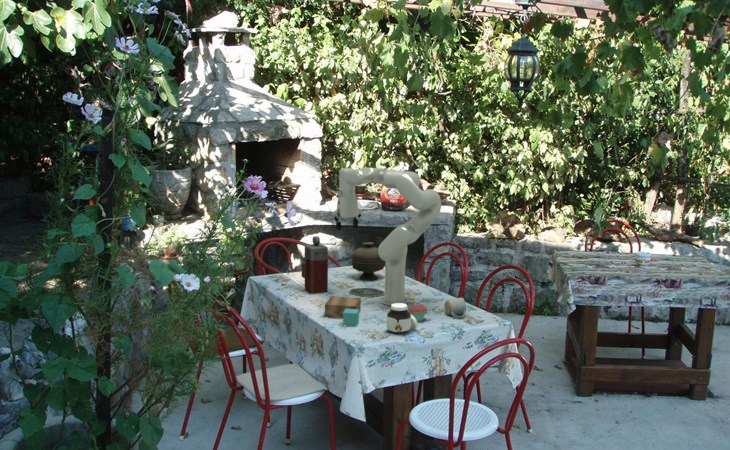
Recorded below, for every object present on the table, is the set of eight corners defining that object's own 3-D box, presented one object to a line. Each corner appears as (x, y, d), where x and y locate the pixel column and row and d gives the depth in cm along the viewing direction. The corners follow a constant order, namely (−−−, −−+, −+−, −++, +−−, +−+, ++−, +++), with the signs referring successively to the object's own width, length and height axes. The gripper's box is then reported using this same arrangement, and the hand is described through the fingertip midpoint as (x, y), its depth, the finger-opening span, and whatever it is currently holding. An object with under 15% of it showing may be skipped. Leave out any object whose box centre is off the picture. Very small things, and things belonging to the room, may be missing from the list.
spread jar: (384, 332, 328) (384, 306, 326) (394, 325, 338) (394, 299, 336) (410, 336, 323) (411, 309, 321) (420, 329, 333) (420, 302, 331)
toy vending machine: (300, 290, 391) (300, 236, 386) (320, 287, 397) (320, 234, 391) (307, 294, 384) (307, 239, 378) (327, 292, 389) (328, 237, 384)
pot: (343, 278, 414) (346, 241, 412) (362, 274, 429) (365, 238, 426) (371, 284, 404) (374, 246, 402) (389, 280, 419) (393, 243, 416)
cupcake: (413, 323, 341) (413, 296, 339) (404, 317, 348) (405, 292, 346) (430, 321, 344) (431, 295, 342) (421, 315, 352) (422, 290, 350)
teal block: (358, 322, 341) (359, 309, 340) (356, 326, 335) (356, 313, 334) (345, 321, 342) (345, 308, 341) (343, 325, 336) (343, 312, 335)
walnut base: (360, 310, 359) (360, 297, 358) (355, 319, 345) (355, 306, 344) (330, 308, 361) (330, 296, 360) (324, 317, 347) (324, 304, 346)
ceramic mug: (443, 312, 357) (443, 296, 355) (459, 311, 359) (460, 295, 358) (452, 320, 347) (453, 303, 345) (469, 318, 349) (470, 302, 348)
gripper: (336, 196, 367) (336, 231, 370) (366, 193, 377) (366, 228, 380) (327, 194, 373) (328, 229, 376) (357, 191, 383) (357, 225, 386)
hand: (347, 228), depth 378 cm, fingers open, 9 cm apart
